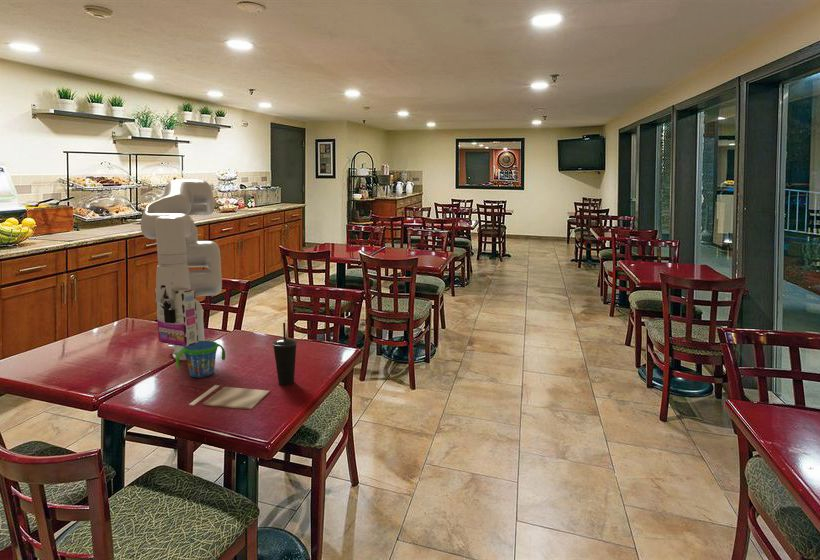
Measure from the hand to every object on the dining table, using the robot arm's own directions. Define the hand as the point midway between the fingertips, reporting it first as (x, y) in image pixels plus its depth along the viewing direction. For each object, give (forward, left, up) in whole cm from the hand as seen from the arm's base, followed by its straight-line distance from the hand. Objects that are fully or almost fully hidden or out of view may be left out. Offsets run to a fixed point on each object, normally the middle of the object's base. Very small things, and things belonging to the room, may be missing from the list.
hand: (177, 319), depth 149 cm
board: (+18, 0, -23) cm, 29 cm away
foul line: (+7, 0, -23) cm, 24 cm away
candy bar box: (0, 0, -7) cm, 7 cm away
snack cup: (-3, +15, -24) cm, 28 cm away
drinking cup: (+27, +14, -24) cm, 39 cm away
